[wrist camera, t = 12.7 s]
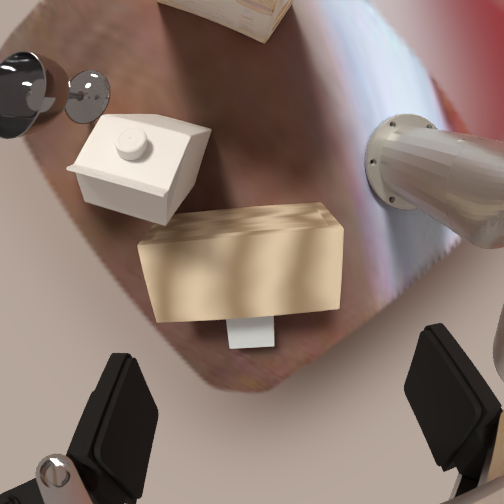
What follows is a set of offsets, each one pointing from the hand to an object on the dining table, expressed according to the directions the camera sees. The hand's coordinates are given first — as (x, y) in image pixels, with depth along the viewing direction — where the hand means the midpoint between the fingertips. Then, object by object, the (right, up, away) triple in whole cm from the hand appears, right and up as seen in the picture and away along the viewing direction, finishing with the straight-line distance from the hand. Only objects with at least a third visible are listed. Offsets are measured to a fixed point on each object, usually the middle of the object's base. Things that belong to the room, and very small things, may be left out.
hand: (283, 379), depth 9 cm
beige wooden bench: (-2, +5, +31) cm, 31 cm away
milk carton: (-10, +16, +26) cm, 32 cm away
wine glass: (-22, +24, +22) cm, 39 cm away
